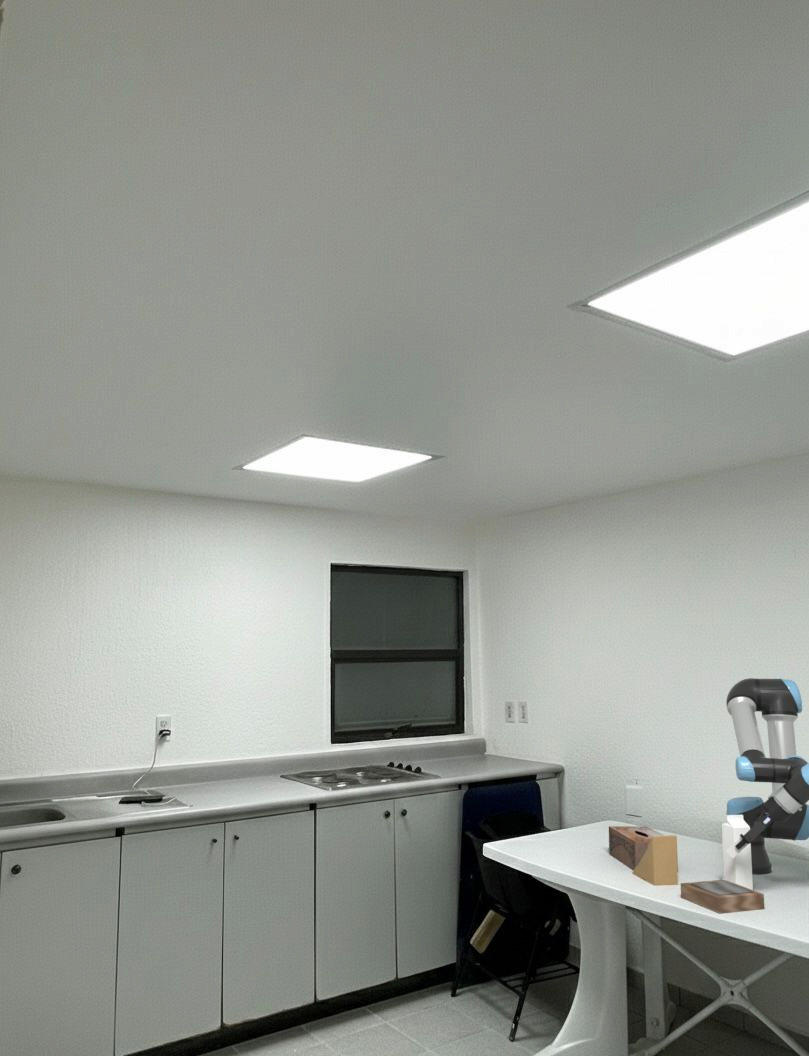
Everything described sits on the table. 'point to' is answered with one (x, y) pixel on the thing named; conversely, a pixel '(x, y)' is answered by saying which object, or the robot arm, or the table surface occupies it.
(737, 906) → the walnut plinth
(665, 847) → the sandwich container
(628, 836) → the tissue box cover
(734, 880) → the milk
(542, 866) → the table surface
